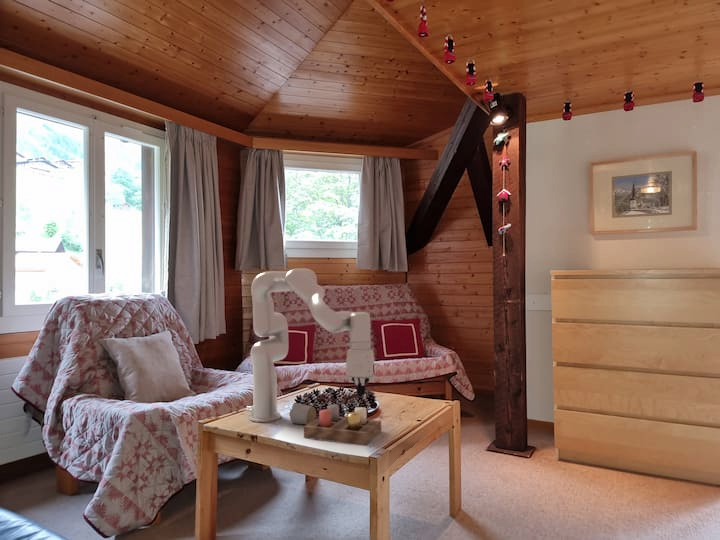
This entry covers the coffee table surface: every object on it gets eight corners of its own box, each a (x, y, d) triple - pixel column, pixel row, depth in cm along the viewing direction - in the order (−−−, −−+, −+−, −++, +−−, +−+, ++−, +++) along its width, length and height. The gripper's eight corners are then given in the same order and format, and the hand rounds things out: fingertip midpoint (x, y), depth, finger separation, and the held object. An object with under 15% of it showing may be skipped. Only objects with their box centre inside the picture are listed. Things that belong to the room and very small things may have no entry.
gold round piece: (345, 429, 181) (345, 414, 181) (350, 426, 185) (350, 411, 185) (357, 430, 180) (357, 416, 180) (361, 427, 184) (361, 412, 184)
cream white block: (352, 424, 188) (352, 409, 188) (357, 420, 192) (357, 406, 192) (364, 425, 186) (364, 410, 186) (368, 421, 190) (368, 407, 190)
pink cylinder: (317, 426, 185) (317, 412, 185) (322, 423, 189) (322, 408, 189) (328, 427, 184) (328, 413, 184) (333, 424, 188) (333, 410, 188)
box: (303, 437, 184) (303, 426, 184) (322, 425, 199) (322, 414, 199) (366, 445, 176) (366, 433, 176) (381, 431, 191) (381, 420, 191)
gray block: (325, 421, 192) (325, 407, 192) (330, 417, 196) (330, 404, 196) (336, 422, 190) (336, 408, 190) (340, 419, 194) (340, 405, 194)
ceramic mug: (308, 427, 196) (308, 407, 196) (289, 425, 199) (289, 405, 200) (320, 420, 206) (321, 401, 206) (303, 418, 209) (303, 399, 209)
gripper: (337, 346, 188) (338, 396, 188) (376, 348, 183) (377, 399, 183) (345, 343, 195) (346, 392, 195) (382, 345, 190) (383, 394, 190)
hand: (361, 395), depth 189 cm, fingers closed
